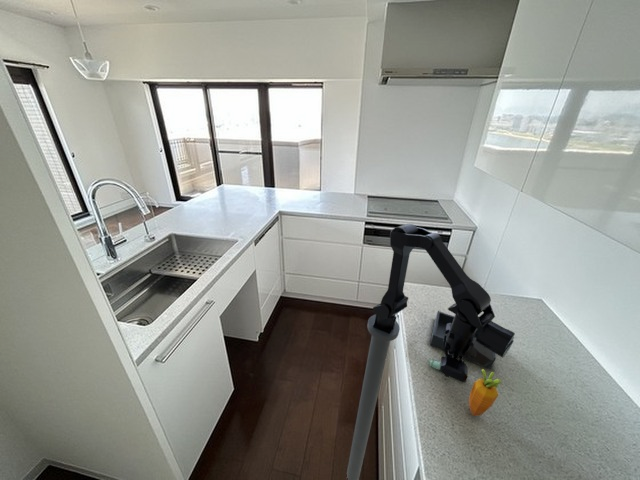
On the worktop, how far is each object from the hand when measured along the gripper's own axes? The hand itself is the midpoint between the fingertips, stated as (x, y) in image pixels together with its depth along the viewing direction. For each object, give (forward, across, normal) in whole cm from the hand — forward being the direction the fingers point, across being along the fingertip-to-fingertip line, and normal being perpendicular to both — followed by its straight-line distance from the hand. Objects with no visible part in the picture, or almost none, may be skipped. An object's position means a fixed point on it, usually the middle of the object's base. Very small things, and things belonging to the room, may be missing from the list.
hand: (447, 369), depth 76 cm
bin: (+1, +15, -3) cm, 15 cm away
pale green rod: (+1, 0, 0) cm, 1 cm away
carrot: (+1, -10, -7) cm, 12 cm away
